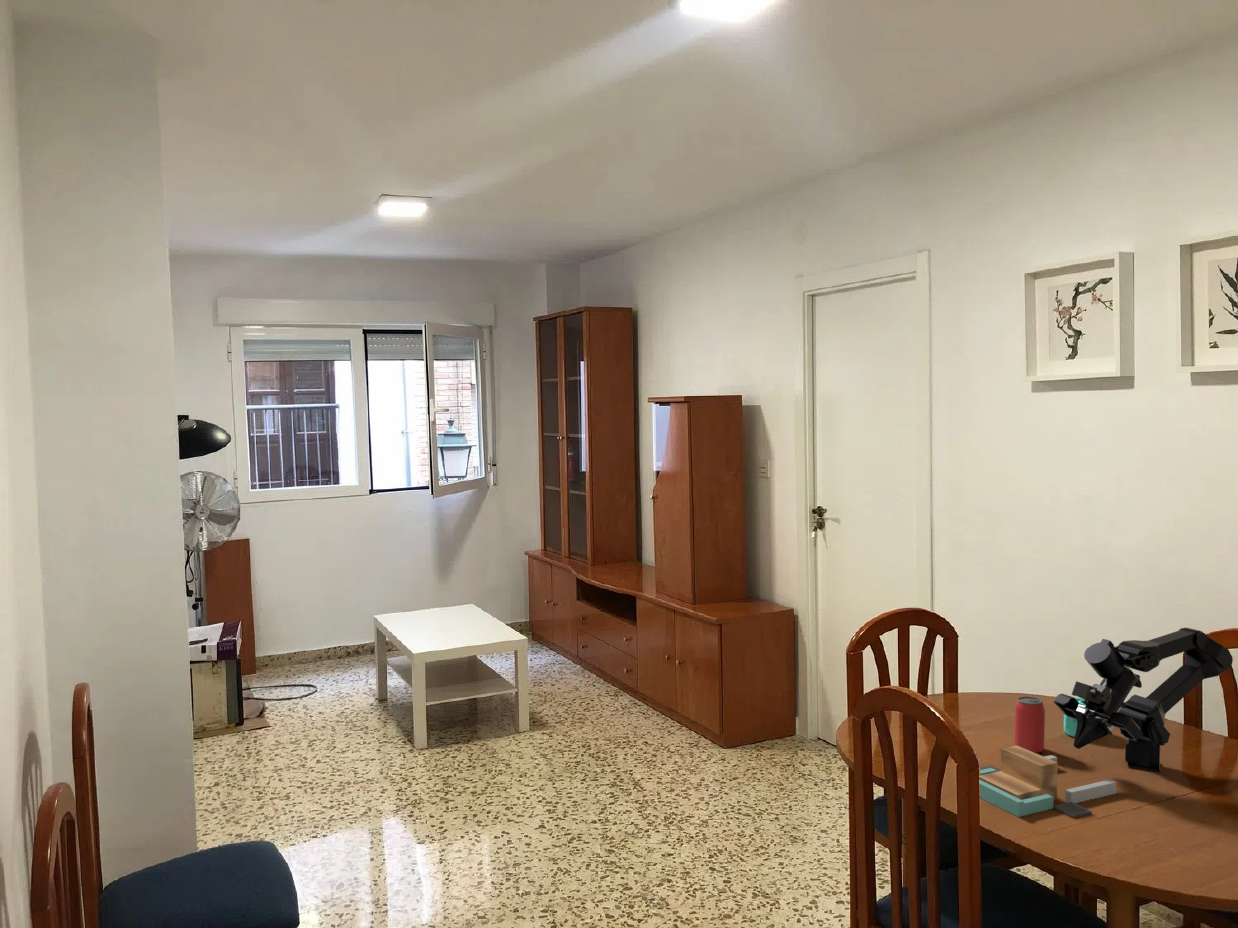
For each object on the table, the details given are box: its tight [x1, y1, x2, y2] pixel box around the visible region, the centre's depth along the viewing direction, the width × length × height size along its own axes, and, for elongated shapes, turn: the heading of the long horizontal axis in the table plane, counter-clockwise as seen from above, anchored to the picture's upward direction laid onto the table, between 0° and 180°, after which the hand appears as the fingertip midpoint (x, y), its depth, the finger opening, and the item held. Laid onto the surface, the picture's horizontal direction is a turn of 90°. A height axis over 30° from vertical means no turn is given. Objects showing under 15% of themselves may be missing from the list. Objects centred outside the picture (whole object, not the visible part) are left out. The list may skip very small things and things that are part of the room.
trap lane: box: [979, 754, 1117, 819], centre depth 208 cm, size 28×27×3 cm
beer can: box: [1013, 695, 1046, 754], centre depth 231 cm, size 7×7×12 cm
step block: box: [979, 745, 1059, 801], centre depth 205 cm, size 11×11×8 cm
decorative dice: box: [1063, 697, 1091, 738], centre depth 241 cm, size 8×8×8 cm
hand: (1075, 747), depth 212 cm, fingers closed
